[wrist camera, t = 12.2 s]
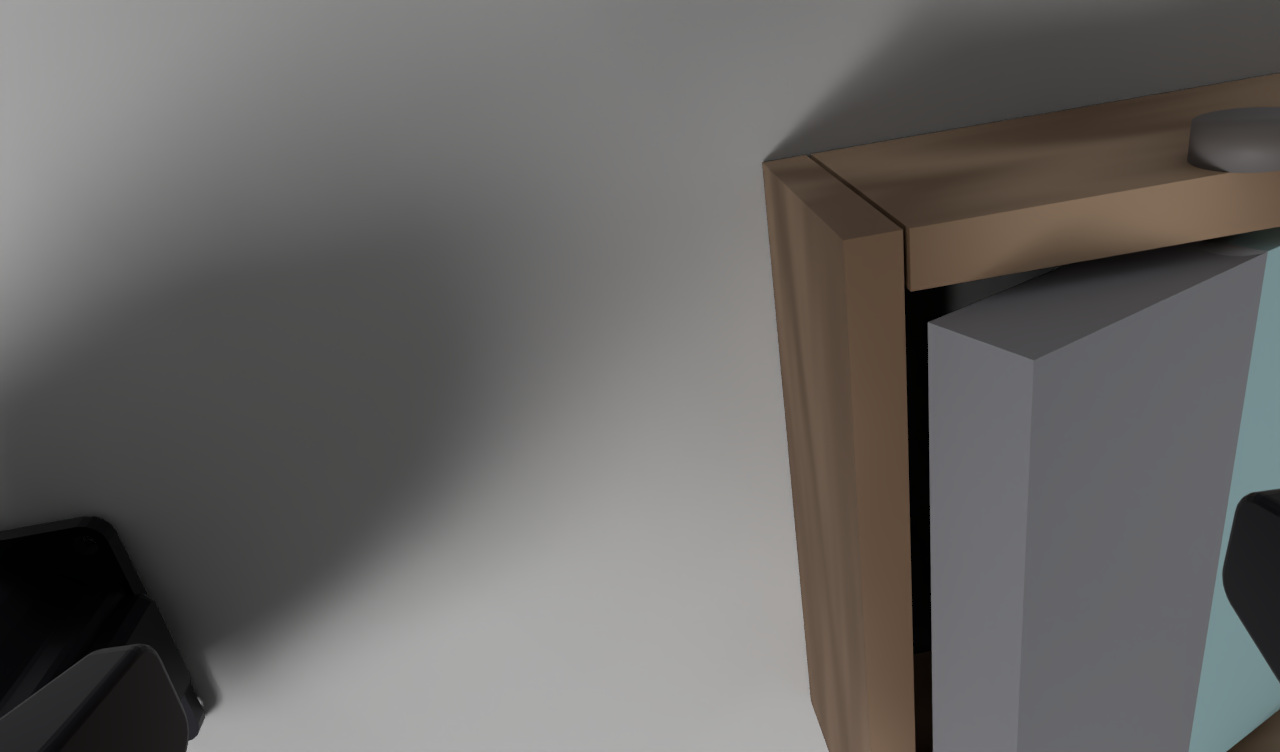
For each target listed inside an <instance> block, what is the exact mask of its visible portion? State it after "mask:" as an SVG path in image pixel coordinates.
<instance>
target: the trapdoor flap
mask: <svg viewBox="0 0 1280 752" xmlns="http://www.w3.org/2000/svg"><path fill="white" fill-rule="evenodd" d="M928 380H929V462H930V544H931V626H932V708H933V752H1227V751H1228V750H1229V749H1230V748H1232V747H1233V746H1234V745H1235V744H1237V743H1238V742H1239V741H1240V740H1242V739H1243V738H1244V737H1245V736H1247V735H1248V734H1249V733H1250V732H1252V731H1253V730H1254V729H1255V728H1257V727H1258V726H1259V725H1260V724H1262V723H1263V722H1264V721H1265V720H1267V719H1268V718H1269V717H1270V716H1272V715H1273V714H1274V713H1276V712H1277V711H1278V710H1279V709H1280V683H1279V681H1278V680H1277V678H1276V677H1275V675H1274V673H1273V672H1272V670H1271V669H1270V667H1269V665H1268V664H1267V662H1266V661H1265V659H1264V657H1263V656H1262V654H1261V653H1260V651H1259V649H1258V648H1257V646H1256V645H1255V643H1254V641H1253V640H1252V638H1251V637H1250V635H1249V633H1248V632H1247V630H1246V629H1245V627H1244V625H1243V624H1242V622H1241V621H1240V619H1239V617H1238V616H1237V614H1236V613H1235V611H1234V609H1233V608H1232V606H1231V604H1230V602H1229V601H1228V599H1227V596H1226V593H1225V591H1224V586H1223V581H1222V570H1223V564H1224V560H1225V555H1226V551H1227V546H1228V541H1229V537H1230V532H1231V528H1232V523H1233V518H1234V514H1235V510H1236V507H1237V504H1238V503H1239V501H1240V500H1241V499H1242V498H1243V497H1244V496H1245V495H1247V494H1249V493H1252V492H1258V491H1265V490H1272V489H1279V488H1280V227H1275V228H1269V229H1263V230H1258V231H1252V232H1246V233H1241V234H1235V235H1229V236H1224V237H1218V238H1212V239H1207V240H1201V241H1195V242H1190V243H1184V244H1178V245H1173V246H1167V247H1161V248H1156V249H1150V250H1144V251H1139V252H1133V253H1127V254H1122V255H1116V256H1110V257H1105V258H1099V259H1093V260H1088V261H1082V262H1076V263H1071V264H1067V265H1065V266H1062V267H1060V268H1057V269H1055V270H1053V271H1050V272H1048V273H1045V274H1043V275H1041V276H1038V277H1036V278H1033V279H1031V280H1029V281H1026V282H1024V283H1021V284H1019V285H1017V286H1014V287H1012V288H1009V289H1007V290H1004V291H1002V292H1000V293H997V294H995V295H992V296H990V297H988V298H985V299H983V300H980V301H978V302H976V303H973V304H971V305H968V306H966V307H963V308H961V309H959V310H956V311H954V312H951V313H949V314H947V315H944V316H942V317H939V318H937V319H935V320H932V321H930V322H928Z"/></svg>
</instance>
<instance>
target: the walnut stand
mask: <svg viewBox="0 0 1280 752" xmlns="http://www.w3.org/2000/svg"><path fill="white" fill-rule="evenodd" d="M762 165H763V176H764V187H765V198H766V209H767V221H768V232H769V243H770V254H771V265H772V276H773V287H774V298H775V309H776V320H777V331H778V342H779V353H780V364H781V375H782V386H783V397H784V408H785V419H786V430H787V441H788V452H789V463H790V474H791V485H792V496H793V507H794V518H795V529H796V540H797V551H798V562H799V573H800V584H801V595H802V606H803V618H804V629H805V640H806V651H807V662H808V673H809V684H810V695H811V702H812V705H813V708H814V711H815V714H816V716H817V719H818V722H819V725H820V728H821V730H822V733H823V736H824V739H825V742H826V744H827V747H828V750H829V752H933V708H932V651H928V652H923V653H918V654H913V628H912V587H911V545H910V503H909V461H908V420H907V378H906V336H905V294H904V286H905V287H906V288H907V289H909V290H910V291H911V292H912V291H918V290H923V289H929V288H935V287H940V286H946V285H952V284H957V283H963V282H969V281H974V280H980V279H986V278H991V277H997V276H1003V275H1008V274H1014V273H1020V272H1025V271H1031V270H1037V269H1042V268H1048V267H1054V266H1059V265H1065V264H1071V263H1076V262H1082V261H1088V260H1093V259H1099V258H1105V257H1110V256H1116V255H1122V254H1127V253H1133V252H1139V251H1144V250H1150V249H1156V248H1161V247H1167V246H1173V245H1178V244H1184V243H1190V242H1195V241H1201V240H1207V239H1212V238H1218V237H1224V236H1229V235H1235V234H1241V233H1246V232H1252V231H1258V230H1263V229H1269V228H1275V227H1280V73H1277V74H1271V75H1266V76H1260V77H1254V78H1248V79H1242V80H1237V81H1231V82H1225V83H1219V84H1213V85H1208V86H1202V87H1196V88H1190V89H1184V90H1179V91H1173V92H1167V93H1161V94H1155V95H1150V96H1144V97H1138V98H1132V99H1126V100H1121V101H1115V102H1109V103H1103V104H1097V105H1092V106H1086V107H1080V108H1074V109H1068V110H1063V111H1057V112H1051V113H1045V114H1039V115H1034V116H1028V117H1022V118H1016V119H1010V120H1005V121H999V122H993V123H987V124H981V125H976V126H970V127H964V128H958V129H952V130H947V131H941V132H935V133H929V134H924V135H918V136H912V137H906V138H900V139H895V140H889V141H883V142H877V143H871V144H866V145H860V146H854V147H848V148H842V149H837V150H831V151H825V152H819V153H813V154H811V158H809V157H808V156H807V155H802V156H796V157H790V158H784V159H779V160H773V161H767V162H762ZM1227 752H1280V709H1279V710H1278V711H1277V712H1276V713H1274V714H1273V715H1272V716H1270V717H1269V718H1268V719H1267V720H1265V721H1264V722H1263V723H1262V724H1260V725H1259V726H1258V727H1257V728H1255V729H1254V730H1253V731H1252V732H1250V733H1249V734H1248V735H1247V736H1245V737H1244V738H1243V739H1242V740H1240V741H1239V742H1238V743H1237V744H1235V745H1234V746H1233V747H1232V748H1230V749H1229V750H1228V751H1227Z"/></svg>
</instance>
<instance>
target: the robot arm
mask: <svg viewBox="0 0 1280 752" xmlns="http://www.w3.org/2000/svg"><path fill="white" fill-rule="evenodd" d="M82 536H88V537H90V538H92V539H94V540H95V541H96V543H97V544H90V543H88V542H86V541H85V540H84V539H83V538H82ZM1222 581H1223V586H1224V591H1225V593H1226V596H1227V599H1228V601H1229V602H1230V604H1231V606H1232V608H1233V609H1234V611H1235V613H1236V614H1237V616H1238V617H1239V619H1240V621H1241V622H1242V624H1243V625H1244V627H1245V629H1246V630H1247V632H1248V633H1249V635H1250V637H1251V638H1252V640H1253V641H1254V643H1255V645H1256V646H1257V648H1258V649H1259V651H1260V653H1261V654H1262V656H1263V657H1264V659H1265V661H1266V662H1267V664H1268V665H1269V667H1270V669H1271V670H1272V672H1273V673H1274V675H1275V677H1276V678H1277V680H1278V681H1279V683H1280V488H1279V489H1272V490H1265V491H1258V492H1252V493H1249V494H1247V495H1245V496H1244V497H1243V498H1242V499H1241V500H1240V501H1239V503H1238V504H1237V507H1236V510H1235V514H1234V518H1233V523H1232V528H1231V532H1230V537H1229V541H1228V546H1227V551H1226V555H1225V560H1224V564H1223V570H1222ZM190 681H191V677H190V674H189V672H188V670H187V668H186V666H185V664H184V662H183V660H182V658H181V656H180V654H179V652H178V649H177V647H176V645H175V643H174V641H173V639H172V637H171V635H170V633H169V631H168V629H167V627H166V625H165V623H164V621H163V618H162V616H161V614H160V612H159V610H158V608H157V606H156V604H155V602H154V601H153V600H152V599H151V598H150V597H149V596H147V594H146V591H145V589H144V587H143V585H142V583H141V581H140V579H139V577H138V575H137V573H136V571H135V569H134V567H133V565H132V563H131V561H130V559H129V557H128V554H127V552H126V550H125V548H124V546H123V544H122V542H121V540H120V538H119V536H118V534H117V532H116V530H115V529H114V528H113V526H112V525H111V524H110V523H108V522H107V521H105V520H104V519H101V518H97V517H94V516H92V517H79V518H74V519H68V520H63V521H57V522H51V523H46V524H40V525H35V526H29V527H23V528H18V529H12V530H7V531H1V532H0V752H186V750H187V745H188V741H189V740H192V739H193V738H195V737H196V736H197V735H198V733H199V730H200V728H201V726H202V724H203V721H204V718H205V715H204V711H203V709H202V707H201V705H200V702H199V700H198V698H197V696H196V694H195V692H194V690H193V688H192V686H191V684H190Z"/></svg>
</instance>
